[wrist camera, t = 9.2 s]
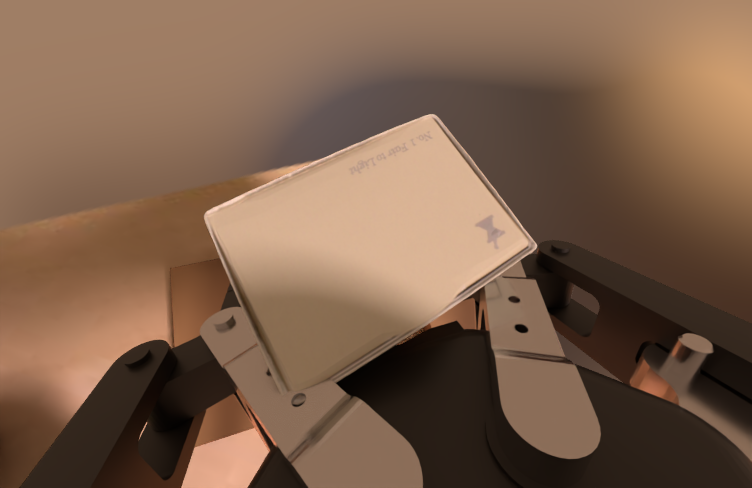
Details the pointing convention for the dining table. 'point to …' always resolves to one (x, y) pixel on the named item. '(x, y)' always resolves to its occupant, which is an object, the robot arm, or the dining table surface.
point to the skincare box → (362, 250)
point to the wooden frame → (205, 298)
